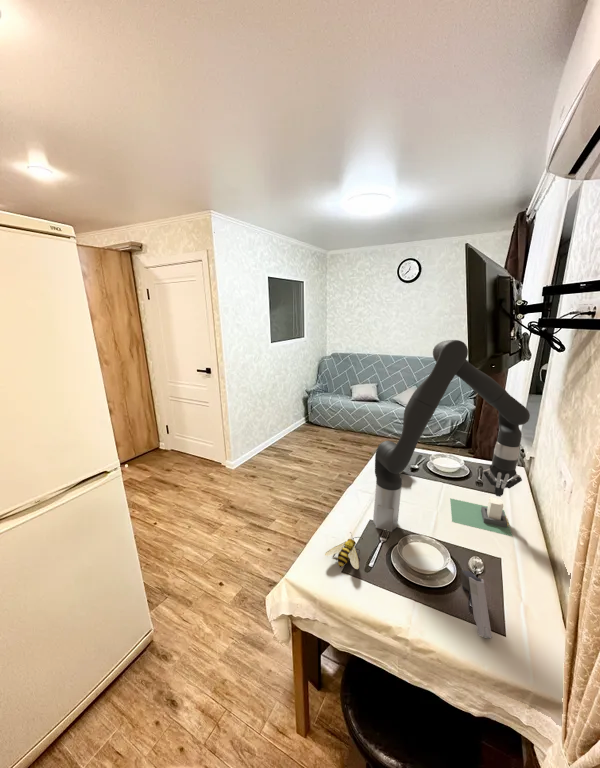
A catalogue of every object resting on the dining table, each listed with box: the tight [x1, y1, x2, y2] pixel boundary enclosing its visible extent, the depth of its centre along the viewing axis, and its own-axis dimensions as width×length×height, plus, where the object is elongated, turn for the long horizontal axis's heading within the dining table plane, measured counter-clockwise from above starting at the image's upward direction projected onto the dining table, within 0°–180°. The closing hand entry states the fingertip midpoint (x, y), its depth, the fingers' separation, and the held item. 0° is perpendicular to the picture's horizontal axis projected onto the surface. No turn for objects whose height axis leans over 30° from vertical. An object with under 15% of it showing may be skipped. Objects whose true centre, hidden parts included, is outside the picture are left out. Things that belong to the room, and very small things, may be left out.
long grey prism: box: [460, 569, 493, 639], centre depth 88 cm, size 4×15×12 cm
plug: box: [486, 496, 504, 520], centre depth 122 cm, size 5×4×8 cm
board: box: [449, 498, 513, 537], centre depth 124 cm, size 16×20×3 cm
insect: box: [324, 533, 363, 570], centre depth 105 cm, size 11×15×5 cm
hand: (497, 495), depth 120 cm, fingers closed
